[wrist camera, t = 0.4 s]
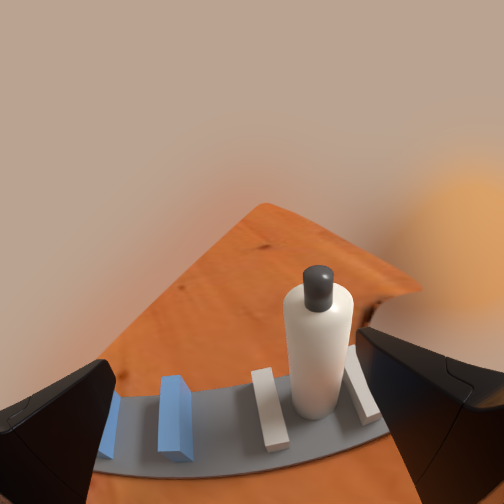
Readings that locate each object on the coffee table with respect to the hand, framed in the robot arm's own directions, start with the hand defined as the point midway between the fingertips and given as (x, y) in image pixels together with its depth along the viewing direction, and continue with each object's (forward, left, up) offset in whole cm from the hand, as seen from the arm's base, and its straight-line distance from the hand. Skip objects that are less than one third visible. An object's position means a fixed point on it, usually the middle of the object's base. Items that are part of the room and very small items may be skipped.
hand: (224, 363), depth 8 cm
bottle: (+5, -5, -15) cm, 17 cm away
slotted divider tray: (+4, +3, -16) cm, 17 cm away
